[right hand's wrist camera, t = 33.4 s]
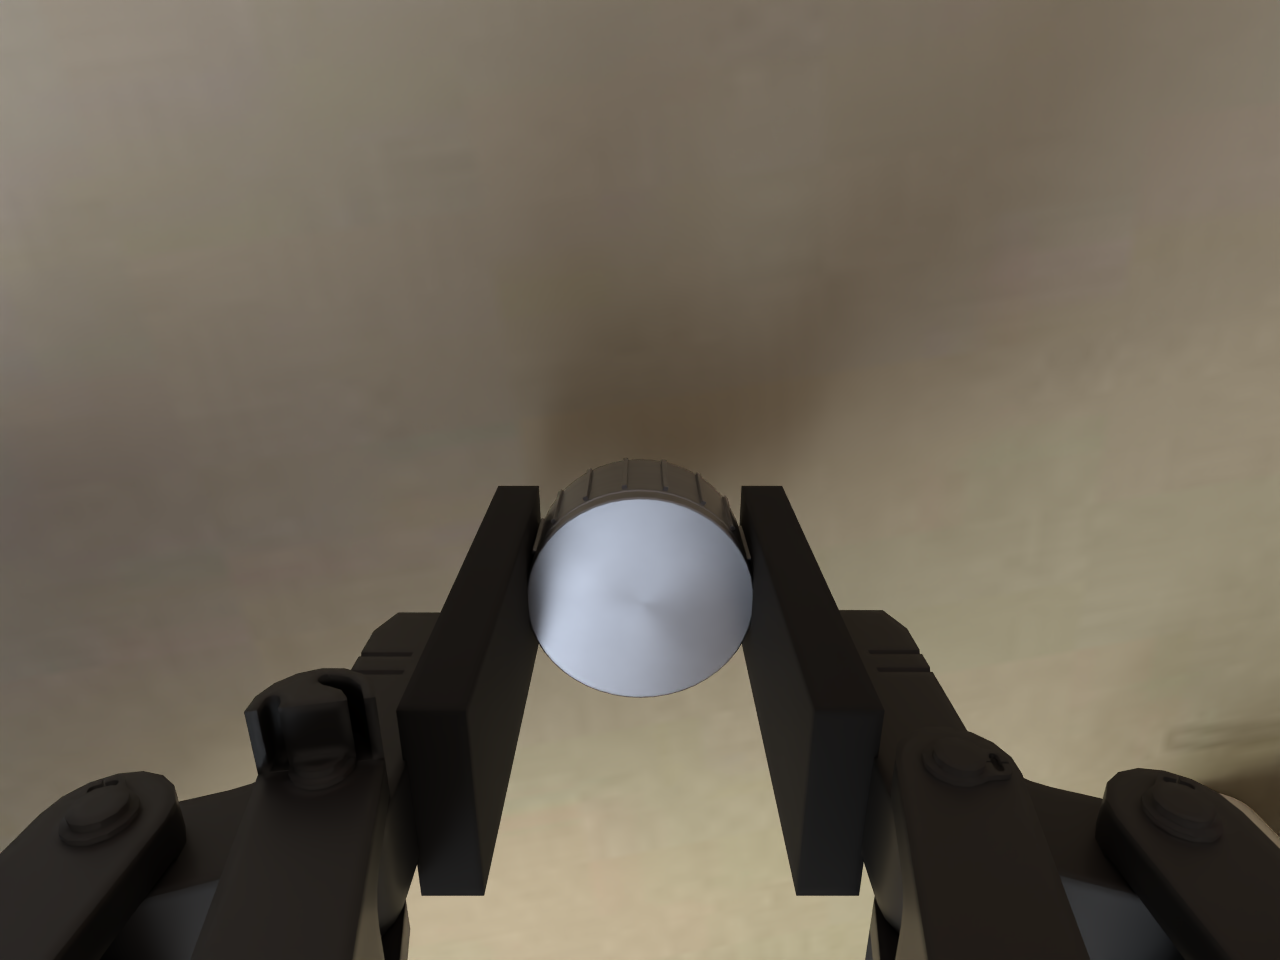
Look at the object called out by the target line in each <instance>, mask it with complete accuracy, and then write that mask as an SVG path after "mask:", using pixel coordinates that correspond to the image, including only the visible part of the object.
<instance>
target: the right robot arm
mask: <svg viewBox="0 0 1280 960" xmlns="http://www.w3.org/2000/svg"><path fill="white" fill-rule="evenodd" d="M540 521H541V517H540V498H539V486H498V488H497V490H496V492H495V495H494V497H493V499H492V501H491V503H490V506H489V508H488V510H487V512H486V514H485V517H484V519H483V521H482V523H481V525H480V528H479V530H478V532H477V534H476V536H475V538H474V541H473V543H472V545H471V547H470V549H469V552H468V554H467V556H466V558H465V560H464V563H463V565H462V567H461V569H460V571H459V573H458V576H457V578H456V580H455V582H454V584H453V587H452V589H451V591H450V593H449V595H448V598H447V600H446V602H445V604H444V606H443V608H442V611H441V613H397V614H396V615H394V616H393V617H392V618H390V619H389V620H388V621H386V622H385V623H384V624H382V625H381V626H380V627H379V628H377V629H376V630H375V631H374V632H373V633H372V635H371V637H370V639H369V640H368V642H367V644H366V645H365V647H364V649H363V650H362V652H361V657H358V659H357V661H356V662H355V664H354V666H353V668H352V669H351V670H348V669H345V668H322V669H317V670H312V671H307V672H303V673H298V674H295V675H293V676H291V677H288V678H286V679H283V680H281V681H279V682H276V683H274V684H273V685H271V686H270V687H269V688H267V689H266V690H264V691H263V692H261V693H260V694H259V695H257V696H256V697H255V698H254V699H253V701H252V702H251V703H250V705H249V706H248V707H247V709H246V710H245V712H244V714H245V718H246V722H247V727H248V731H249V736H250V740H251V745H252V749H253V754H254V758H255V762H256V767H257V771H258V776H257V779H256V782H254V783H252V784H249V785H246V786H242V787H239V788H236V789H232V790H229V791H224V792H220V793H215V794H211V795H207V796H202V797H198V798H193V799H189V800H185V801H180V802H179V801H178V797H177V794H176V790H175V786H174V785H173V784H172V783H171V782H170V781H169V780H168V779H167V778H165V777H164V776H163V775H159V774H154V773H150V772H145V771H141V772H131V773H120V774H116V775H112V776H109V777H106V778H103V779H100V780H96V781H93V782H90V783H88V784H86V785H84V786H82V787H80V788H78V789H76V790H75V791H73V792H71V793H69V794H67V795H65V796H63V797H61V798H60V799H59V800H58V801H56V802H55V803H54V804H53V805H51V806H50V807H49V808H48V809H46V810H45V811H44V812H42V813H41V814H40V815H39V816H38V817H37V818H36V819H35V820H34V821H33V822H32V823H31V824H30V825H29V826H28V827H27V828H26V829H25V830H24V831H23V832H22V833H21V834H20V835H19V836H18V837H17V838H16V839H15V840H14V841H13V842H12V843H11V844H10V845H9V846H8V847H7V848H6V849H5V850H4V851H3V852H2V853H1V854H0V960H407V958H408V947H409V936H410V925H409V918H408V911H407V904H406V897H407V894H408V891H409V888H410V885H411V882H412V878H413V875H414V872H415V869H416V866H418V873H419V880H420V888H421V895H422V896H484V894H485V889H486V884H487V880H488V875H489V871H490V866H491V861H492V857H493V852H494V847H495V843H496V838H497V834H498V829H499V824H500V820H501V815H502V811H503V806H504V801H505V797H506V792H507V787H508V783H509V778H510V774H511V769H512V764H513V760H514V755H515V750H516V746H517V741H518V737H519V732H520V727H521V723H522V718H523V714H524V709H525V704H526V700H527V695H528V690H529V686H530V681H531V677H532V672H533V667H534V663H535V658H536V654H537V649H538V644H539V643H538V641H537V639H536V637H535V635H534V633H533V631H532V628H531V625H530V621H529V608H528V590H527V580H528V575H529V571H530V568H531V564H532V560H533V557H534V554H531V552H532V548H533V545H534V542H535V538H536V535H537V531H538V528H539V524H540ZM740 526H742V528H743V532H744V535H745V539H746V542H747V546H748V549H749V553H750V556H751V562H749V565H750V569H751V572H752V576H753V600H752V616H751V624H750V627H749V630H748V632H747V634H746V636H745V639H744V640H743V642H742V647H743V651H744V656H745V661H746V665H747V670H748V674H749V679H750V684H751V688H752V693H753V697H754V702H755V707H756V711H757V716H758V721H759V725H760V730H761V734H762V739H763V744H764V748H765V753H766V757H767V762H768V767H769V771H770V776H771V781H772V785H773V790H774V794H775V799H776V804H777V808H778V813H779V817H780V822H781V827H782V831H783V836H784V841H785V845H786V850H787V854H788V859H789V864H790V868H791V873H792V877H793V882H794V887H795V891H796V896H859V891H860V884H861V877H862V870H863V863H864V864H865V867H866V870H867V873H868V876H869V879H870V882H871V885H872V888H873V891H874V895H875V898H874V904H873V911H872V918H871V925H870V931H869V938H868V945H867V951H866V958H865V960H1280V848H1279V847H1278V846H1277V845H1276V844H1275V843H1274V842H1273V841H1272V840H1271V839H1270V838H1269V837H1268V836H1267V835H1266V834H1265V833H1264V832H1263V831H1262V830H1261V829H1260V828H1259V827H1258V826H1257V825H1256V824H1255V823H1254V822H1253V821H1251V820H1250V819H1249V818H1248V817H1247V816H1246V815H1245V814H1244V813H1243V812H1242V811H1241V810H1240V809H1238V808H1237V807H1236V806H1235V805H1233V804H1232V803H1231V802H1230V801H1228V800H1227V799H1226V798H1224V797H1223V796H1222V795H1221V794H1219V793H1217V792H1215V791H1213V790H1211V789H1209V788H1208V787H1206V786H1204V785H1202V784H1200V783H1198V782H1196V781H1194V780H1192V779H1189V778H1186V777H1183V776H1179V775H1176V774H1173V773H1170V772H1166V771H1162V770H1152V769H1142V768H1136V769H1131V770H1126V771H1122V772H1118V773H1117V774H1116V775H1115V776H1114V777H1113V778H1112V779H1110V780H1109V781H1108V782H1107V785H1106V789H1105V792H1104V796H1103V799H1101V798H1097V797H1092V796H1088V795H1083V794H1079V793H1075V792H1070V791H1066V790H1061V789H1057V788H1053V787H1049V786H1045V785H1042V784H1039V783H1035V782H1032V781H1029V780H1027V779H1025V778H1023V775H1022V773H1021V771H1020V770H1019V768H1018V767H1017V765H1016V764H1015V762H1014V761H1013V759H1012V758H1011V757H1010V756H1009V755H1008V754H1007V753H1005V752H1004V751H1003V750H1002V749H1000V748H999V747H998V746H997V745H996V744H994V743H993V742H991V741H989V740H986V739H984V738H982V737H980V736H978V735H976V734H974V733H972V732H968V731H967V730H966V728H965V726H964V724H963V723H962V721H961V719H960V718H959V716H958V714H957V713H956V711H955V709H954V708H953V706H952V704H951V702H950V701H949V699H948V697H947V696H946V694H945V692H944V691H943V689H942V687H941V685H940V684H939V682H938V680H937V679H936V677H935V675H934V674H933V672H930V667H929V665H928V663H927V662H926V660H925V658H924V657H923V655H922V654H920V652H919V648H918V646H917V645H916V643H915V641H914V640H913V638H912V636H911V635H910V633H909V631H908V629H907V628H906V627H904V626H903V625H902V624H900V623H899V622H898V621H896V620H895V619H894V618H892V617H891V616H890V615H888V614H887V613H886V612H884V611H883V610H839V609H838V607H837V605H836V603H835V601H834V599H833V596H832V594H831V592H830V590H829V588H828V585H827V583H826V581H825V579H824V577H823V574H822V572H821V570H820V568H819V566H818V564H817V561H816V559H815V557H814V555H813V553H812V550H811V548H810V546H809V544H808V542H807V539H806V537H805V535H804V533H803V531H802V529H801V526H800V524H799V522H798V520H797V518H796V515H795V513H794V511H793V509H792V507H791V504H790V502H789V500H788V498H787V496H786V494H785V491H784V489H783V487H782V486H742V488H741V508H740Z"/></svg>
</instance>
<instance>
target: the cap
mask: <svg viewBox="0 0 1280 960" xmlns="http://www.w3.org/2000/svg"><path fill="white" fill-rule="evenodd" d="M531 554H534V557H533V560H532V564H531V568H530V571H529V575H528V580H527V590H528V608H529V621H530V625H531V628H532V631H533V633H534V635H535V637H536V639H537V641H538V643H539V644H540V646H541V647H542V649H543V650H544V652H545V653H546V654H547V656H548V657H549V658H550V659H551V660H552V661H553V662H554V663H555V664H556V665H557V666H558V667H559V668H560V669H561V670H562V671H563V672H565V673H566V674H568V675H569V676H570V677H572V678H573V679H575V680H577V681H579V682H580V683H582V684H584V685H586V686H588V687H591V688H593V689H596V690H598V691H602V692H605V693H609V694H612V695H618V696H624V697H639V698H642V697H656V696H662V695H668V694H672V693H676V692H679V691H682V690H685V689H687V688H690V687H692V686H695V685H697V684H698V683H700V682H702V681H704V680H706V679H707V678H709V677H710V676H712V675H713V674H714V673H716V672H717V671H718V670H720V669H721V668H722V667H723V666H724V665H725V664H726V663H727V662H728V661H729V660H730V659H731V658H732V656H733V655H734V654H735V653H736V652H737V650H738V648H739V647H740V645H741V644H742V642H743V640H744V639H745V636H746V634H747V632H748V630H749V627H750V624H751V616H752V600H753V576H752V572H751V569H750V565H749V562H751V556H750V553H749V549H748V546H747V542H746V539H745V535H744V532H743V528H742V526H739V527H738V524H737V521H736V518H735V516H734V514H733V512H732V510H731V508H730V506H729V502H728V499H727V497H726V496H724V497H722V496H721V495H720V493H719V492H718V491H717V490H716V489H715V488H714V487H713V486H712V485H710V484H709V483H708V482H707V481H706V480H704V479H703V478H702V477H701V474H699V473H698V472H697V473H696V474H695V473H693V472H691V471H689V470H687V469H684V468H682V467H680V466H677V465H674V464H670V463H667V462H666V460H663V459H662V460H661V461H656V460H644V459H636V460H628V458H624V459H623V461H619V462H614V463H610V464H607V465H604V466H601V467H598V468H596V469H594V470H592V469H591V468H590V469H588V470H587V473H586V474H584V475H583V476H581V477H580V478H578V479H576V480H575V481H574V482H573V483H572V484H570V485H569V486H568V487H567V488H566V489H565V490H564V491H563V490H560V491H559V492H558V496H557V499H556V500H555V502H554V503H553V505H552V506H551V508H550V509H549V511H548V513H547V515H546V517H545V519H543V518H542V519H541V521H540V524H539V528H538V531H537V535H536V538H535V542H534V545H533V548H532V552H531Z"/></svg>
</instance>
